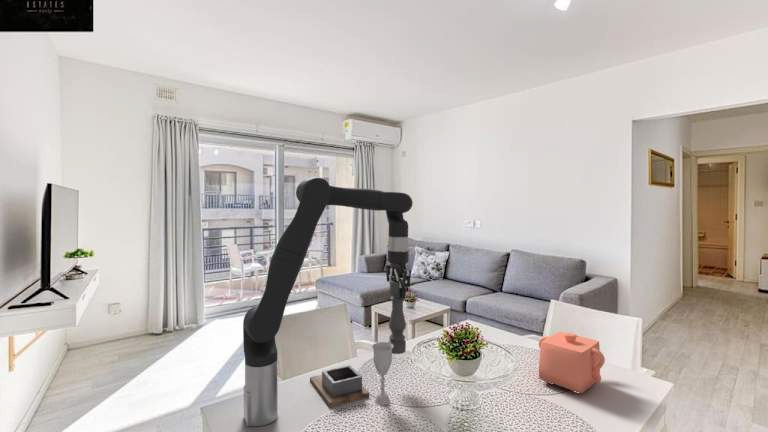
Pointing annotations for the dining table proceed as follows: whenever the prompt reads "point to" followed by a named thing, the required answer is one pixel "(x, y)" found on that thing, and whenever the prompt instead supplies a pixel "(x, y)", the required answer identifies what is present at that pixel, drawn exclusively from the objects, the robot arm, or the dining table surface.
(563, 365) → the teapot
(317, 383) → the keeper plate
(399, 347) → the candle holder
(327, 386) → the collar
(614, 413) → the dining table surface
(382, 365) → the chalice
